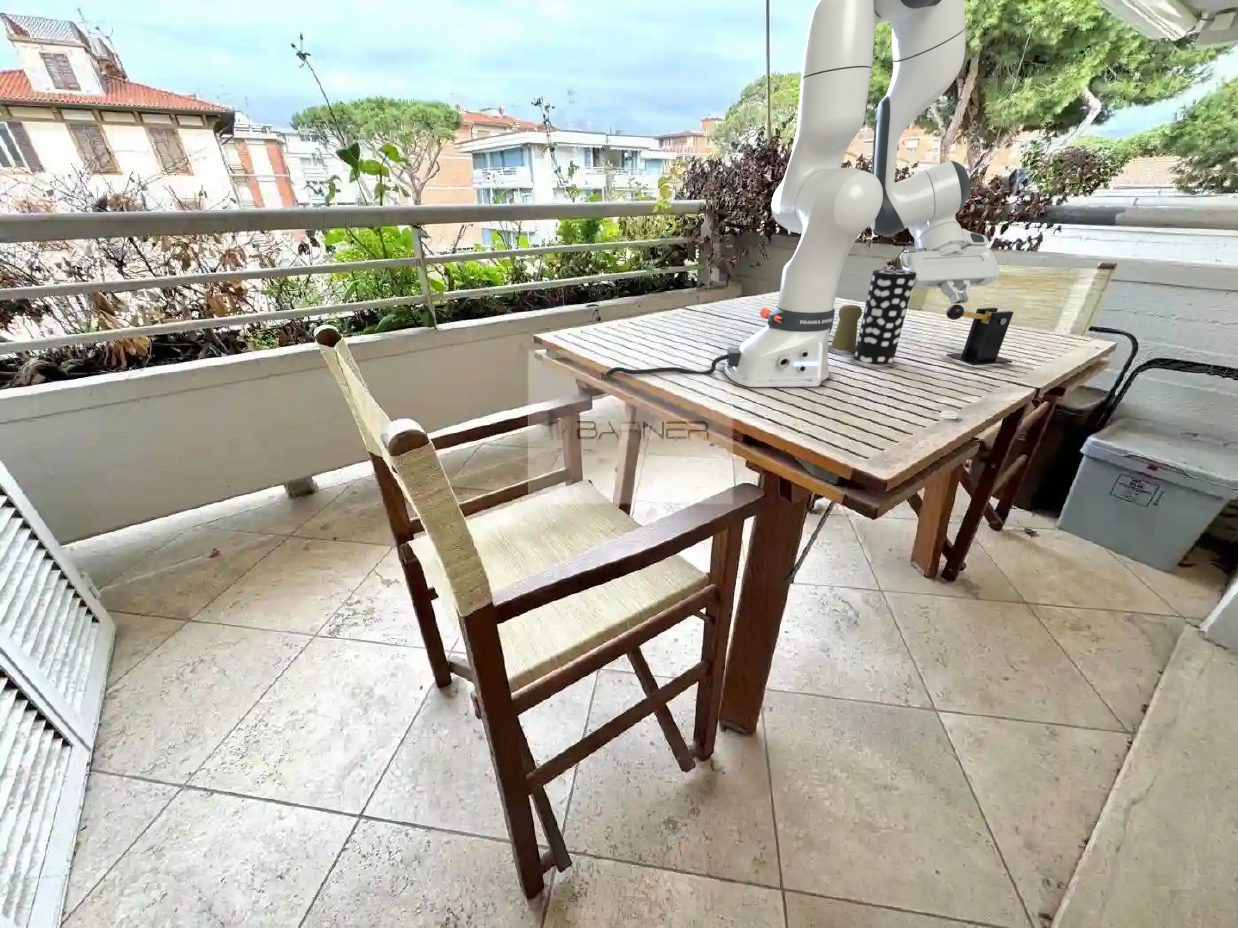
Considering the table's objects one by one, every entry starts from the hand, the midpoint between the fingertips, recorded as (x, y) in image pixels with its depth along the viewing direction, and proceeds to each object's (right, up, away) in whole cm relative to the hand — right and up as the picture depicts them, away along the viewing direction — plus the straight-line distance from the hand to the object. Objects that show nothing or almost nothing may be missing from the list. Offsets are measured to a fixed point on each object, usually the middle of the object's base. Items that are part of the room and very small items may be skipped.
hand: (961, 302), depth 103 cm
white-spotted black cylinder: (-14, -11, +10) cm, 20 cm away
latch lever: (+4, -3, +3) cm, 7 cm away
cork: (-16, -6, +20) cm, 26 cm away
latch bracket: (+10, -11, +9) cm, 17 cm away
